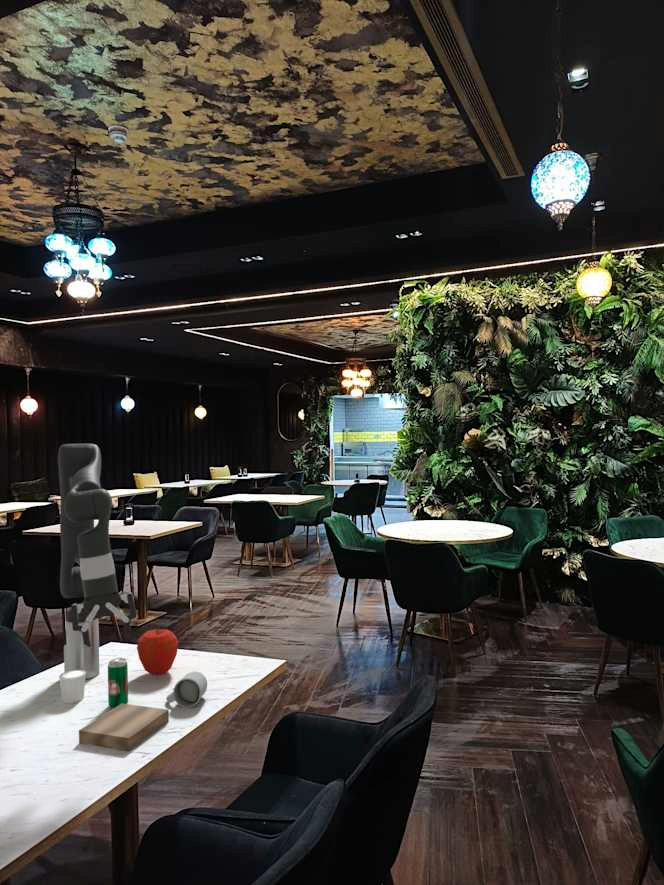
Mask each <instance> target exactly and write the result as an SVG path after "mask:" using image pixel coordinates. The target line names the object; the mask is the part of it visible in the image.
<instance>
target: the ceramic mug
mask: <svg viewBox="0 0 664 885" xmlns="http://www.w3.org/2000/svg"><path fill="white" fill-rule="evenodd" d="M207 689H208V680H207V678H206V676H205V674H203V673H202V672H200V671H192V672H189V673H188V672H187V673H186V674H185V675H184V676H183V677H181V679H179V681H177V683H176V684H175V685H174V688H173V692H171V693H169V694H168V695H167V696H166V697H165V698H166V701H167V703H168V704H171V703H173V702H176V703H177V705H179V706H180V707H182V708H192V707H195V706H197V704H199V702H200V701H201V699H202V697H203V696H204V695H205V694H206V691H207Z"/></svg>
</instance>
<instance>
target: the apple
mask: <svg viewBox="0 0 664 885" xmlns="http://www.w3.org/2000/svg"><path fill="white" fill-rule="evenodd" d="M178 646H179V642H178V638H177V636H176V635H175V634H174V633H173V631H171V630H169V629H159V628H158V627H157V629H151V630H147V631H146V632H144V633H143V634H142V635H141V636H140V637H139V639H138V643H137V646H136V650H137V655H138V660H139V661H140V663H141V665H142V667H143V669H144V671H146V672H147V673H149V674H150V675H152V676H162V675H167V673H168V672H169V671H170V670H171V669H172V667H173V665H174V662H175V659H176V657H177V653H178V649H179V648H178Z"/></svg>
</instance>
